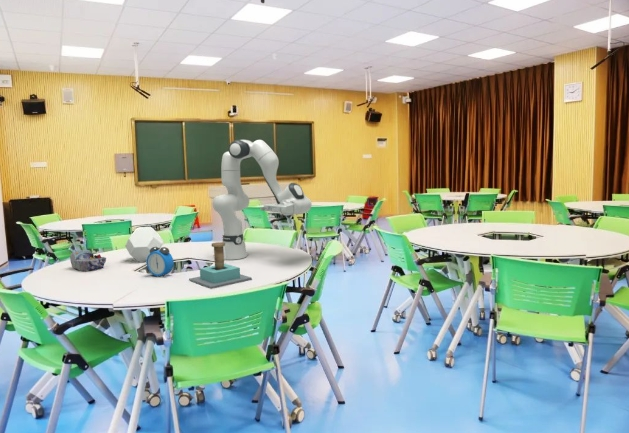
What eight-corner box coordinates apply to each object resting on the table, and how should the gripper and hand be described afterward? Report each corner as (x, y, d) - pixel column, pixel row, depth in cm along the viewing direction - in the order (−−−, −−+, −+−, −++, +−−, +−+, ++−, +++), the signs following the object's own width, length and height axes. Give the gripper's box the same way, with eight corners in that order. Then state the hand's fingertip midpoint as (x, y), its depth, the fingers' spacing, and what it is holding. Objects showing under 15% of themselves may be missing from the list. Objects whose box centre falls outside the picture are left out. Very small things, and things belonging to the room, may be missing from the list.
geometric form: (140, 265, 263) (137, 230, 261) (121, 261, 275) (119, 228, 273) (169, 258, 279) (167, 226, 277) (151, 255, 291) (148, 224, 289)
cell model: (84, 247, 267) (108, 249, 258) (85, 265, 268) (109, 268, 260) (63, 251, 255) (88, 253, 247) (65, 270, 256) (90, 273, 248)
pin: (211, 278, 221) (209, 243, 219) (222, 275, 226) (220, 241, 224) (217, 280, 217) (215, 244, 215) (229, 277, 221) (227, 243, 219)
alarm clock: (147, 276, 235) (144, 247, 233) (155, 273, 241) (153, 245, 239) (167, 277, 230) (164, 248, 228) (175, 274, 236) (173, 246, 234)
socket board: (189, 280, 222) (188, 268, 222) (228, 272, 237) (227, 261, 236) (211, 288, 206) (210, 275, 205) (251, 279, 220) (251, 267, 219)
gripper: (275, 200, 259) (255, 202, 250) (298, 202, 243) (277, 204, 234) (276, 211, 260) (255, 214, 251) (298, 214, 244) (277, 216, 235)
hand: (266, 209), depth 242 cm, fingers open, 8 cm apart
